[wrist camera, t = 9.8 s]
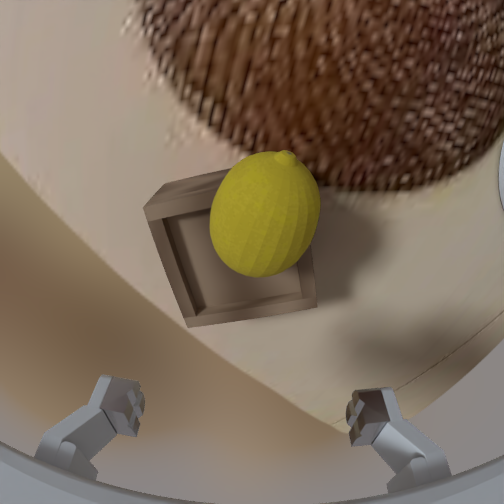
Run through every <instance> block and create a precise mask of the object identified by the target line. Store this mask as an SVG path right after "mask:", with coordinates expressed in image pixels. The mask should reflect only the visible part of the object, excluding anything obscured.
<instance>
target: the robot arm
mask: <svg viewBox="0 0 504 504" xmlns="http://www.w3.org/2000/svg"><path fill="white" fill-rule="evenodd" d="M499 190H500V197H501V202H502V205H503V208H504V143H503V146H502V151H501V157H500V165H499ZM140 387H141V386H140V383H139V381H135V380H129V379H123V378H118V377H114V376H108V375H102V376H101V377H100V378H99V380H98V382H97V384H96V387H95V389H94V391H93V394H92V396H91V399H90V401H89V403H88V405H87V406H86V405H84V406H82V407H81V408H80V409H78V410H77V411H75V412H74V413H72V414H71V415H69V416H68V417H67V418H65V419H64V420H62V421H61V422H59V423H58V424H56V425H55V426H53V427H52V428H51V429H49V430H48V431H46V432H45V433H44V435H43V437H42V440H41V442H40V444H39V447H38V449H37V451H36V454H35V456H34V457H32V456H29V455H27V454H25V453H23V452H21V451H18V450H17V449H15V448H13V447H11V446H9V445H6V444H5V443H3V442H1V441H0V504H213V503H203V502H195V501H187V500H180V499H173V498H167V497H161V496H156V495H151V494H146V493H142V492H137V491H133V490H128V489H124V488H120V487H116V486H113V485H109V484H106V483H102V482H99V481H96V477H97V474H98V471H97V469H96V468H95V467H94V466H93V465H92V464H91V463H90V459H92V458H93V457H94V456H95V455H96V454H97V453H98V452H99V451H100V450H101V449H102V448H103V447H104V446H106V445H107V444H108V443H109V442H110V441H111V440H112V439H113V438H114V437H115V436H116V435H117V434H122V435H128V436H133V437H137V433H138V429H139V426H140V422H139V420H138V418H139V417H141V416H142V415H143V412H144V407H145V398H144V394H143V393H142V392H141V391H140ZM346 420H347V424H348V425H349V426H350V427H351V430H350V432H349V436H350V441H351V446H362V445H371V446H372V447H373V448H374V449H375V451H376V452H377V453H378V454H379V455H380V456H381V457H382V458H383V460H384V461H385V462H386V463H387V464H388V465H389V466H390V467H391V469H392V470H393V471H394V472H395V473H396V476H394V477H393V478H392V479H391V480H390V481H389V482H388V483H387V489H388V494H383V495H378V496H372V497H367V498H361V499H355V500H347V501H340V502H331V503H321V504H504V455H502V456H500V457H498V458H496V459H494V460H491V461H489V462H487V463H484V464H482V465H480V466H477V467H474V468H472V469H469V470H467V471H464V472H461V473H458V474H456V475H453V476H452V475H451V472H450V469H449V465H448V462H447V459H446V456H445V453H444V451H443V449H441V448H440V447H439V446H438V445H436V444H435V443H434V442H433V441H432V440H430V439H429V438H428V437H427V436H426V435H425V434H423V433H422V432H421V431H420V430H419V429H417V428H416V427H415V426H414V425H413V424H412V423H410V422H409V421H408V420H407V419H403V418H402V415H401V412H400V409H399V406H398V403H397V400H396V397H395V394H394V391H393V389H392V388H391V387H384V388H371V389H361V390H355V391H353V393H352V400H351V401H349V402H348V405H347V408H346ZM116 433H117V434H116Z"/></svg>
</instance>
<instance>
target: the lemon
mask: <svg viewBox="0 0 504 504" xmlns="http://www.w3.org/2000/svg"><path fill="white" fill-rule="evenodd" d="M320 207H321V200H320V194H319V189H318V186H317V183H316V181H315V179H314V178H313V176H312V174H311V172H310V171H309V170H308V169H307V168H306V167H305V166H304V164H302V163H301V162H300V161H298V160H297V159H296V156H295V155H294V154H293V153H292V152H290V151H286V150H283V151H280V152H261V153H257V154H254V155H251V156H248V157H246V158H244V159H242V160H241V161H240V162H238V163H237V164H236V165H235V166H233V167H232V169H231V170H230V171H229V172H228V173H227V175H226V176H225V178H224V180H223V181H222V183H221V185H220V187H219V189H218V191H217V193H216V195H215V197H214V200H213V203H212V207H211V213H210V236H211V239H212V243H213V246H214V249H215V250H216V252H217V254H218V255H219V257H220V258H221V260H222V261H223V262H224V263H225V264H226V265H227V266H228V267H229V268H231V269H233V270H234V271H236V272H238V273H240V274H243V275H245V276H250V277H255V278H258V277H269V276H273V275H277V274H279V273H281V272H283V271H285V270H286V269H288V268H290V267H291V266H292V265H294V264H295V263H296V262H297V261H298V260H299V258H300V257H301V256H302V255H303V253H304V252H305V251H306V249H307V248H308V246H309V245H310V243H311V241H312V239H313V236H314V234H315V230H316V227H317V223H318V219H319V214H320Z"/></svg>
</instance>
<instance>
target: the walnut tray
mask: <svg viewBox="0 0 504 504" xmlns="http://www.w3.org/2000/svg"><path fill="white" fill-rule="evenodd" d="M231 169H232V168H230V169H226V170H221V171H216V172H212V173H207V174H203V175H199V176H194V177H190V178H186V179H182V180H178V181H173V182H169V183H166V184H164V185H163V186H162V187H161V188H160V189H159V190H158V191H157V192H156V193H155V195H154V196H153V197H152V198H151V199H150V200H149V201H148V202H147V203H146V205H145V206H144V207H143V209H144V212H145V215H146V218H147V221H148V224H149V227H150V230H151V233H152V236H153V239H154V242H155V245H156V247H157V250H158V253H159V256H160V258H161V261H162V264H163V267H164V269H165V272H166V275H167V277H168V280H169V282H170V285H171V288H172V290H173V293H174V295H175V298H176V300H177V303H178V305H179V308H180V310H181V313H182V315H183V318H184V320H185V322H186V325H187V327H188V328H191V327H199V326H206V325H213V324H220V323H227V322H234V321H241V320H247V319H254V318H260V317H266V316H272V315H278V314H284V313H289V312H295V311H300V310H306V309H311V308H316V307H317V297H316V288H315V279H314V270H313V261H312V253H311V245H309V246H308V248H307V249H306V251H305V252H304V253H303V255H302V256H301V257H300V258H299V260H298V261H297V262H296V263H295V264H294V265H292V266H291V267H290V268H288V269H286V270H285V271H283V272H281V273H279V274H277V275H273V276H269V277H258V278H255V277H250V276H245V275H243V274H240V273H238V272H236V271H234V270H233V269H231V268H229V267H228V266H227V265H226V264H225V263H224V262H223V261H222V260H221V258H220V257H219V255H218V254H217V252H216V250H215V249H214V246H213V243H212V239H211V236H210V213H211V207H212V203H213V200H214V197H215V195H216V193H217V191H218V189H219V187H220V185H221V183H222V181H223V180H224V178H225V176H226V175H227V173H228V172H229V171H230V170H231Z"/></svg>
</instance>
